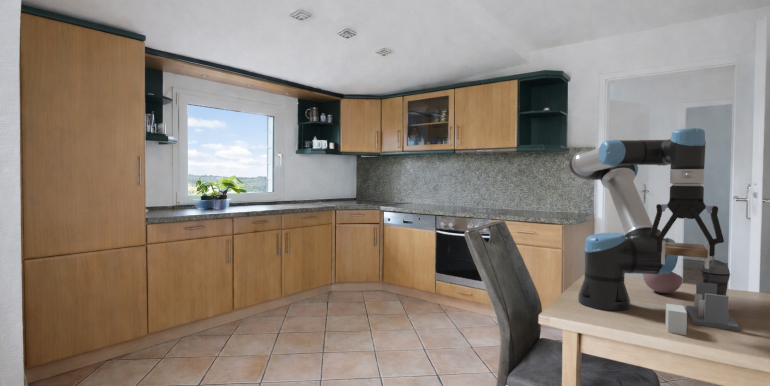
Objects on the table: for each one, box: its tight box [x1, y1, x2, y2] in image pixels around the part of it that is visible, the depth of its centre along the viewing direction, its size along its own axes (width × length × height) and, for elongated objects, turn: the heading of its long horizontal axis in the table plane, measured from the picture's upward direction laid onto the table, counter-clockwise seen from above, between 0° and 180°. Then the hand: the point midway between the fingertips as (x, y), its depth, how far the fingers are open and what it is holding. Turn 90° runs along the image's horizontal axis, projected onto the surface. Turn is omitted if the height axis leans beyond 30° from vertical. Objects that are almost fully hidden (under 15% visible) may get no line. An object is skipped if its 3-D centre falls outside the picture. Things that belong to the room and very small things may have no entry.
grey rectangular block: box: [664, 303, 688, 336], centre depth 110 cm, size 4×7×6 cm, turn 149°
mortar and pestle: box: [642, 271, 684, 294], centre depth 146 cm, size 12×12×11 cm
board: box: [665, 242, 708, 259], centre depth 111 cm, size 9×11×2 cm
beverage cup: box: [700, 256, 731, 296], centre depth 128 cm, size 7×7×20 cm
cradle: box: [685, 281, 741, 332], centre depth 119 cm, size 10×17×9 cm, turn 149°
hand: (684, 265), depth 111 cm, fingers closed on board, 9 cm apart
